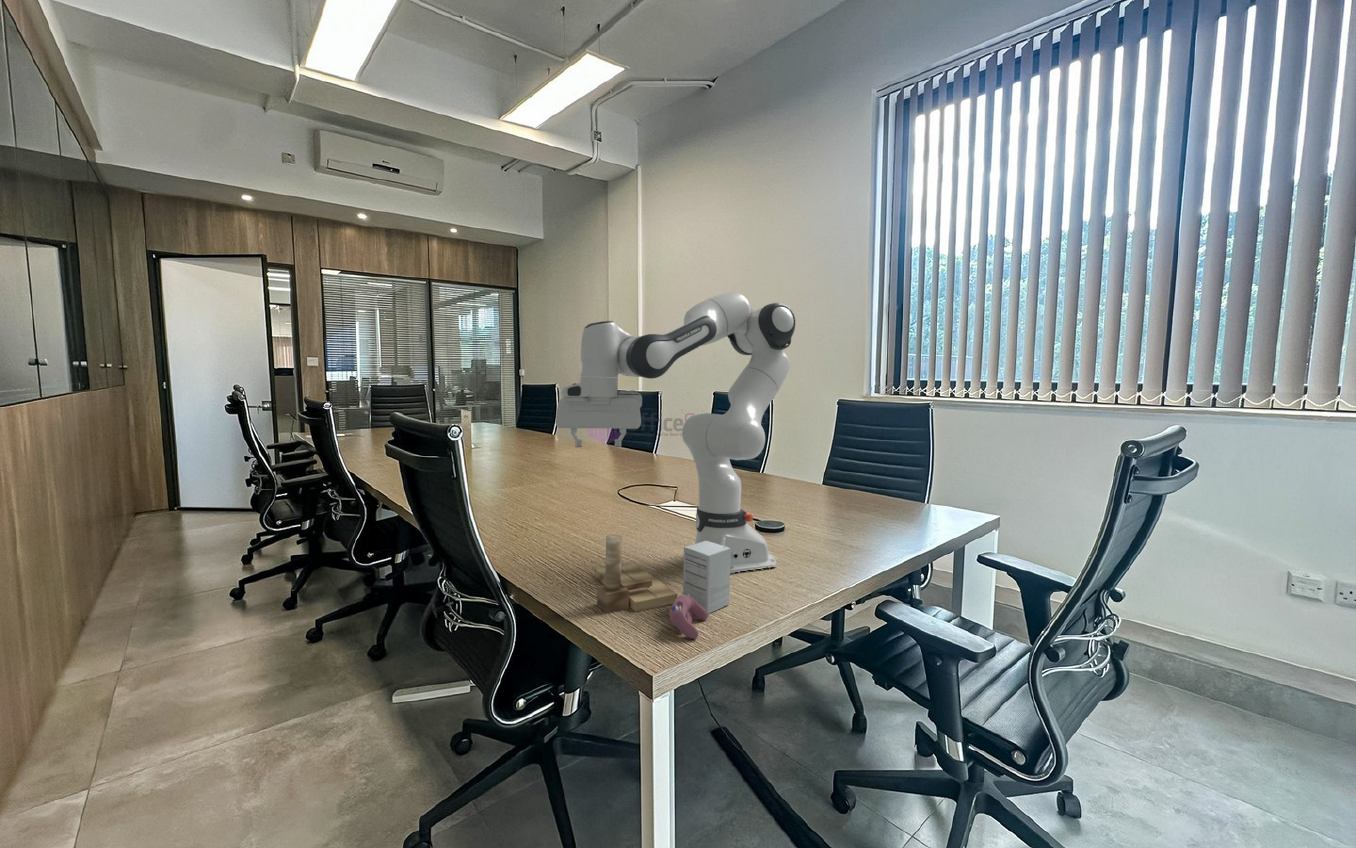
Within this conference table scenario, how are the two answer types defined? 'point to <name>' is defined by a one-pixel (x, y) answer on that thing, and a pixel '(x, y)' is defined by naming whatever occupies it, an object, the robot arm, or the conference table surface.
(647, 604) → the board
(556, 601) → the conference table surface
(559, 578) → the conference table surface
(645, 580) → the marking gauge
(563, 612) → the conference table surface
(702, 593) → the supplement box
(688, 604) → the video game controller
